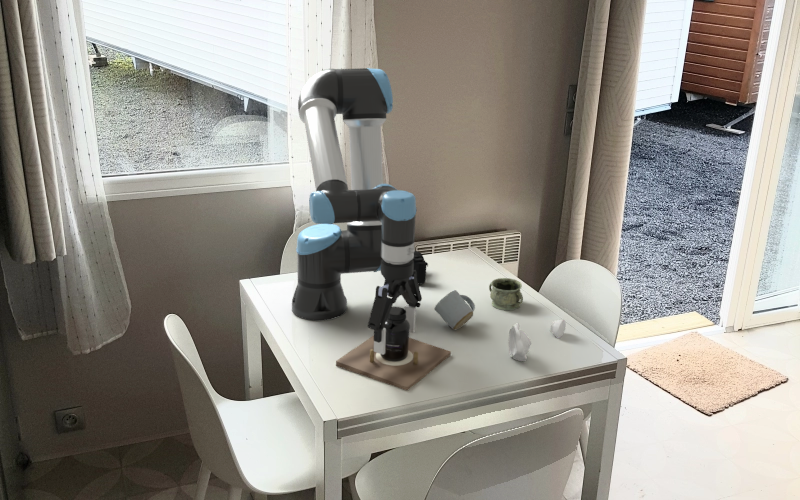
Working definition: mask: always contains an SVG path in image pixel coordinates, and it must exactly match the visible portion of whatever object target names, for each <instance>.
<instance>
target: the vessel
mask: <svg viewBox="0 0 800 500" xmlns="http://www.w3.org/2000/svg"><path fill="white" fill-rule="evenodd" d="M488 285H489V286H488V289H489V293H490V294H489V295H490V298H491V300H492V301H491V306H492V307H494V308H495V309H497V310H502V311H513V310H515V309H519V308H521V305H522V304H523V302H524V296H523V293H522V292H521V289H522V287H523V285H522V283H521V281H519V280H517V279H514V278H508V277H499V278H496V279H493V280H492V281H491V282H490V283H489V284H488Z"/></svg>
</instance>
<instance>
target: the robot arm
mask: <svg viewBox="0 0 800 500" xmlns="http://www.w3.org/2000/svg"><path fill="white" fill-rule="evenodd" d="M392 91H393V90H392V85H391V82H390V79H389V77H388V74H387V73H386V72H385V70H383V69H380V68H369V67H366V68H363V67H361V68H326V69H323V70H321V71H318V72H316V73H315V74H313V75H312V76H311V77H310V78H309V79H308V80H307V81H306V83H305V84H304V85H303V87H302V89H301V91H300V94H299V97H298V102H297V104H298V105H297V109H298V116H299V119H300V120H301V122H302V123H304V127H305V134H306V139H307V146H308V151H309V157H310V163H311V168H312V175H313V180H314V181H313V182H314V186H315V187H314V188H315V191H312V192H311V193H310V195H309V215H310V219H311V221H312V223H314V224H313V225H310V226H307V227H306V228H304V229H302V230H301V231H300V232H299V233H298V235H297V239H296V240H297V241H296V249H295V250H296V255H297V258H296V260H297V261H296V262H297V263H296V264H297V265H296V266H297V284H296V287H295V290H294V293H293V296H292V300H291V311H292V313H293V314H294V316H295V315H296V316H297V317H298V318H301V319H303V320H308V321H329V320H333V319H337V318H340V317H342V316H343V315H344V314H345V313H346V312H347V310H348V301H347V300H348V299H347V297H346V296H345V292H344V289H343V286H342V283H341V282H342V281H341V279H342V278H341V275H343V274H355V273H367V272H368V273H369V272H371V273H372V272H373V273H377V272H380V274H381V275H382V276H383V278H384V283H383V285H381V286H380V285H376V288H375V296H374V300H373V303H372V308H371V310H370V311H371V312H370V316H369V318H368V322H367V329H371V330H373V335H374V352H377V353H380V354H383V355H384V354H385V341H386V328H384V325H385V323H386V320H387V318H388V315H389V313H390V310H391V307H393V305H394V304H395V303H396V302H397V299H398V298H399V297H400V296H402V298H403V300H404V302H406V304H405V305H404V309H405V310H406V320H407V321H408V322H409V325H410V330H409V333H415V331H416V313H417V312H416V311H417V310H416V309H417V308H420V307H421V301H422V300H423V298H422V293H421V291H420V290H421V289H420V285H419V284H418V282H417V273H416V270H413V266H414V260H413V257H414V251H416V250H415V239H416V238H415V237H416V236H415V235H416V231H415V230H416V216H417V215H416V214H417V209H418V208H417V205H416V204H417V203H416V202H417V201H416V199H417V198H416V196H415V195H414V194H413V193H412V192H409V191H408V190H401V189H399V190H398V189H397V188H396V187H395V186H393V185H391V184H389V183H384V179H383V178H384V177H383V174H384V173H383V149H382V148H383V147H382V125H383V124H384V123H385V122H386V121H387V114H389V113H392V111H393V103H394V99H393V92H392ZM337 115H342V122H343V123H344V124H345V125H346V126H347V128H348V136H349V137H348V139H349V140H348V142H349V163H350V164H349V167H350V189H349V187H348V181H347V176H346V171H345V167H344V161H343V157H342V151H341V146H340V141H339V136H338V135H339V134H338V131H337V127H336V120H335V118H336V117H337ZM344 223H345V224H346V229H345V230H342V229H341V227H340V226H339V225H337V224H344Z"/></svg>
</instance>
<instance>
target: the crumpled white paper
mask: <svg viewBox="0 0 800 500" xmlns="http://www.w3.org/2000/svg"><path fill="white" fill-rule="evenodd" d="M508 334H509V335H508V354H509V356H511V355H513V356H511V358H512V359H514V360H516V361H518V360H519V362H521V361H524V362H525V361H527V359H528V357H527V354H528V353H529V352H530V348H531V346H532V341H531V339H530V337H529V336H528V334H527V333H526V332H525V331H523V330H520V323H518V322H517V323H515V324H514V325H513V326H512V327H511V329H510V330H509V333H508Z"/></svg>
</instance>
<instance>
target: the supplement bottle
mask: <svg viewBox="0 0 800 500" xmlns="http://www.w3.org/2000/svg"><path fill="white" fill-rule="evenodd" d="M384 328H386V341H385V354H384V355H383V354H380V355H381V357H382V358H383V359H385V360H387V361H392V362H398V361H402V360H404V359H406V358H407V356H408V348H409V338H410V332H409V330H410V325H409V322H408V321H407V320H406V310H405V307H404V308H403V307H400V306H392V307H391V310H390V313H389V315H388V318H387V320H386V323H385V325H384Z"/></svg>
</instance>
